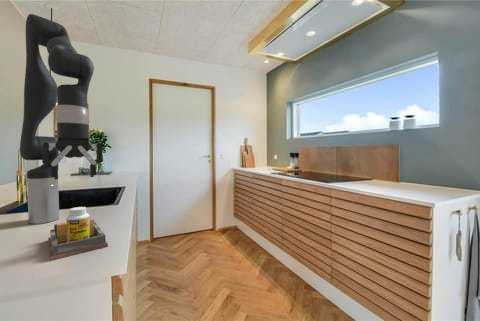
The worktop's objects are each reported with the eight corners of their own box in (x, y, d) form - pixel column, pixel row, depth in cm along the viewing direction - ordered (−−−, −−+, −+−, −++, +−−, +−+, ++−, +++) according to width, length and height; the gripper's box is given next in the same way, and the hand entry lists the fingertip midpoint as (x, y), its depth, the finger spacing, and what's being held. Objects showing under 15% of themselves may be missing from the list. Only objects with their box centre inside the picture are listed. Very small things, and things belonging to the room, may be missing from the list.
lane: (48, 240, 71) (47, 225, 71) (96, 230, 80) (96, 217, 80) (50, 260, 59) (50, 242, 58) (107, 246, 67) (107, 230, 67)
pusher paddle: (57, 240, 68) (56, 224, 68) (93, 233, 74) (93, 218, 74) (57, 242, 67) (57, 225, 67) (94, 234, 73) (93, 219, 73)
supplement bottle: (66, 247, 64) (65, 211, 64) (67, 241, 69) (66, 207, 68) (90, 243, 67) (89, 209, 67) (89, 237, 72) (89, 205, 71)
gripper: (99, 125, 74) (100, 175, 75) (40, 121, 64) (42, 178, 65) (104, 123, 68) (105, 177, 69) (41, 119, 59) (43, 181, 60)
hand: (74, 178), depth 67 cm, fingers open, 8 cm apart
